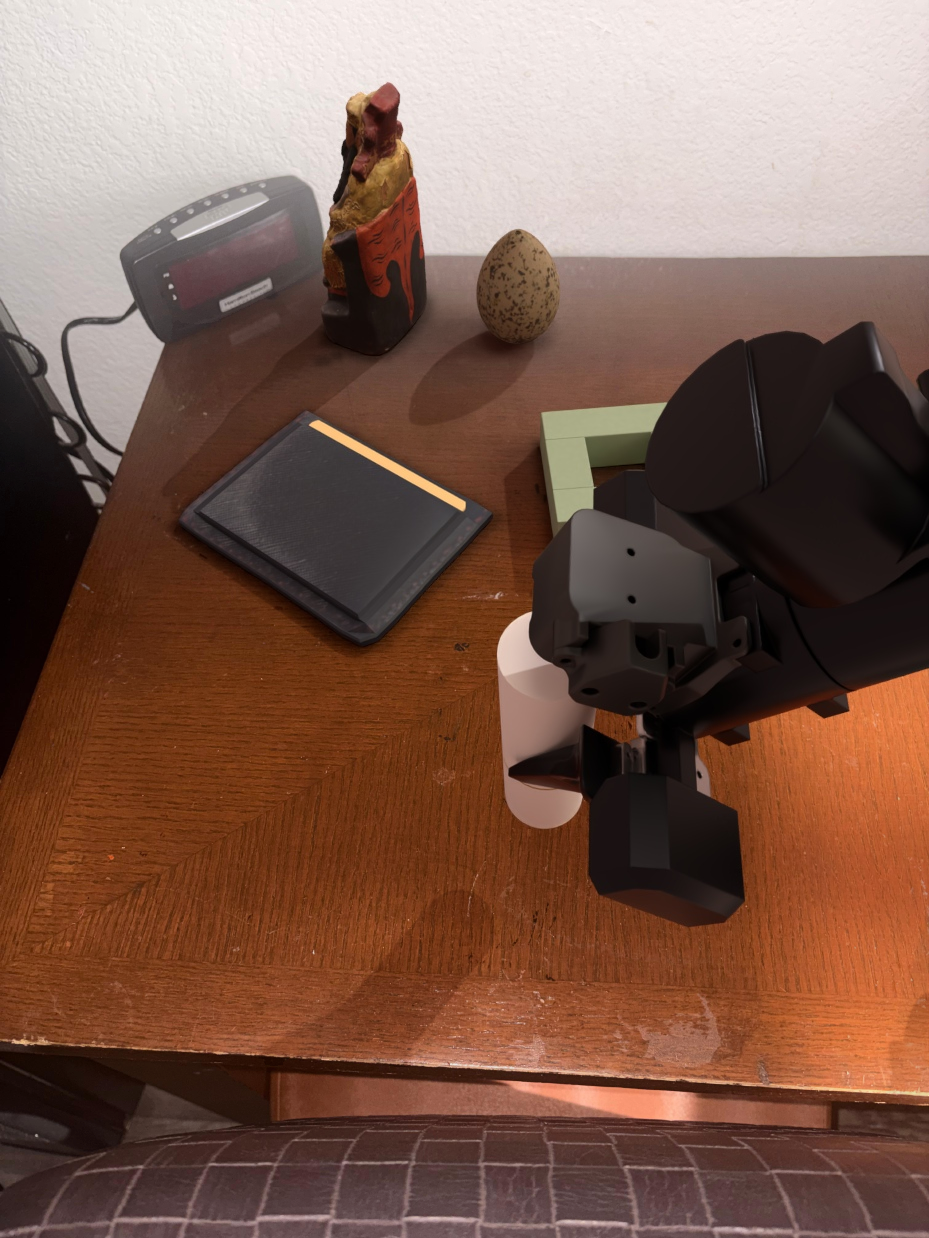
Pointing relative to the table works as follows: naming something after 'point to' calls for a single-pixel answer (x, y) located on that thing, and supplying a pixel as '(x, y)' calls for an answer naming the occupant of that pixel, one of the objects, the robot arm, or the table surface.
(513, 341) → the decorative egg
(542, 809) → the tube
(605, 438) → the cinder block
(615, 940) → the table surface
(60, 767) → the table surface
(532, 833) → the table surface
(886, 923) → the table surface
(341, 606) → the wallet
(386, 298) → the statue
